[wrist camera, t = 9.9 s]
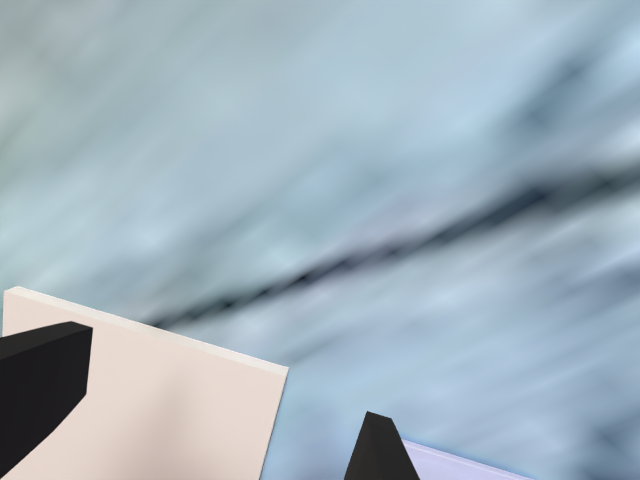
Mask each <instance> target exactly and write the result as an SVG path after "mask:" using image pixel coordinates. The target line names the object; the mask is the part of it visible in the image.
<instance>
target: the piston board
mask: <svg viewBox="0 0 640 480" xmlns="http://www.w3.org/2000/svg"><path fill="white" fill-rule="evenodd" d="M68 321H73V322H76V323H80V324H83V325H86V326H90V327H93V335H92V345H91V354H90V364H89V374H88V383H87V393H86V396H85V397H84V398H83V399H82V400H81V401H80V402H79V404H78V405H77V406H76V407H75V408H74V409H73V411H72V412H71V413H70V414H69V415H68V416H67V417H66V418H65V419H64V420H63V422H62V423H61V424H60V425H59V426H58V427H57V428H56V429H55V430H54V431H53V432H52V433H51V434H50V435H49V436H48V437H47V438H46V439H45V440H44V441H42V442H41V443H40V444H39V445H38V446H37V447H36V448H35V449H34V450H33V451H31V452H30V453H29V454H28V455H27V456H26V457H25V458H24V459H23V460H22V461H20V462H19V463H18V464H17V465H16V466H15V467H14V468H13V469H11V470H10V471H9V472H8V473H7V474H6V475H5V476H4V477H3V478H1V479H0V480H259V479H260V475H261V471H262V467H263V464H264V460H265V456H266V452H267V449H268V445H269V441H270V438H271V434H272V430H273V426H274V423H275V419H276V415H277V411H278V408H279V404H280V400H281V396H282V393H283V389H284V385H285V381H286V378H287V374H288V370H289V368H288V367H285V366H281V365H278V364H275V363H271V362H268V361H265V360H262V359H258V358H255V357H252V356H248V355H245V354H242V353H238V352H235V351H232V350H228V349H225V348H222V347H218V346H215V345H212V344H209V343H205V342H202V341H199V340H195V339H192V338H189V337H185V336H182V335H179V334H175V333H172V332H169V331H165V330H162V329H159V328H156V327H152V326H149V325H146V324H142V323H139V322H136V321H132V320H129V319H126V318H122V317H119V316H116V315H112V314H109V313H106V312H103V311H99V310H96V309H93V308H89V307H86V306H83V305H79V304H76V303H73V302H69V301H66V300H63V299H59V298H56V297H53V296H50V295H46V294H43V293H40V292H36V291H33V290H30V289H26V288H23V287H20V286H16V287H14V288H11V289H8V290H6V291H4V307H3V337H5V336H9V335H12V334H16V333H20V332H24V331H28V330H32V329H36V328H40V327H44V326H49V325H53V324H58V323H63V322H68Z"/></svg>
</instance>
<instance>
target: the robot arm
mask: <svg viewBox="0 0 640 480" xmlns="http://www.w3.org/2000/svg"><path fill="white" fill-rule="evenodd" d="M92 335H93V327H90V326H86V325H83V324H80V323H76V322H73V321H68V322H63V323H58V324H53V325H49V326H44V327H40V328H36V329H32V330H28V331H24V332H20V333H16V334H12V335H9V336H5V337H1V338H0V479H1V478H3V477H4V476H5V475H6V474H7V473H8V472H9V471H10V470H11V469H13V468H14V467H15V466H16V465H17V464H18V463H19V462H20V461H22V460H23V459H24V458H25V457H26V456H27V455H28V454H29V453H30V452H31V451H33V450H34V449H35V448H36V447H37V446H38V445H39V444H40V443H41V442H42V441H44V440H45V439H46V438H47V437H48V436H49V435H50V434H51V433H52V432H53V431H54V430H55V429H56V428H57V427H58V426H59V425H60V424H61V423H62V422H63V420H64V419H65V418H66V417H67V416H68V415H69V414H70V413H71V412H72V411H73V409H74V408H75V407H76V406H77V405H78V404H79V402H80V401H81V400H82V399H83V398H84V397H85V396H86V393H87V383H88V374H89V364H90V354H91V345H92ZM344 480H533V479H530V478H527V477H524V476H520V475H517V474H514V473H511V472H507V471H504V470H501V469H498V468H494V467H491V466H488V465H485V464H481V463H478V462H475V461H472V460H468V459H465V458H462V457H459V456H455V455H452V454H449V453H446V452H442V451H439V450H436V449H433V448H429V447H426V446H423V445H420V444H416V443H413V442H410V441H407V440H403V439H401V438H400V435H399V433H398V431H397V429H396V427H395V425H394V423H393V421H392V419H391V418H388V417H385V416H381V415H378V414H375V413H371V412H368V411H367V413H366V415H365V418H364V421H363V424H362V427H361V430H360V433H359V436H358V439H357V442H356V445H355V448H354V450H353V453H352V456H351V459H350V462H349V465H348V468H347V471H346V474H345V477H344Z"/></svg>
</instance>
